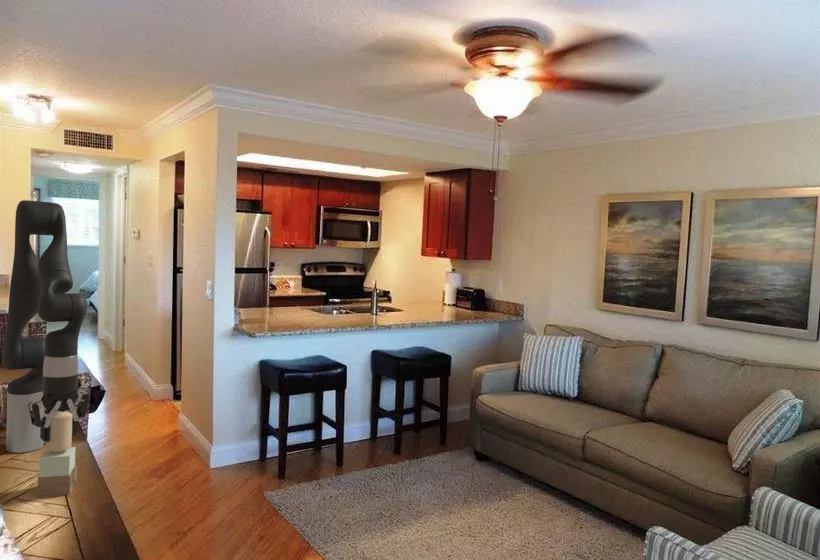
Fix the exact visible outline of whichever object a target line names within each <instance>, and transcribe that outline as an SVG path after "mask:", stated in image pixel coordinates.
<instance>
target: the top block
mask: <svg viewBox="0 0 820 560" xmlns="http://www.w3.org/2000/svg"><path fill="white" fill-rule="evenodd" d="M38 463H39V464H38V467H39V468H38V470H39V471H38V477H55V476H69V475H70V473H71V471H72V470H73V468H74V466H75V465H76V446H71V447H70V448H69V449H66V450H62V451H48V450H47V449H46V448H45V450H44V451H43V452H42V453H41V455H40V456H39V462H38Z"/></svg>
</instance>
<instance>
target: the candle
mask: <svg viewBox="0 0 820 560" xmlns="http://www.w3.org/2000/svg"><path fill="white" fill-rule="evenodd" d="M49 414H50V412H49ZM49 427H50V441H49V442H45V450H46V449H47V450H48V451H62V450H66V449H69V448H70V447H72V439H73V436H72V414H71V412H70V411H69V410H66V411H64V412H61V411H57V412H56V415H55V417H54V418H53V419H52V421H51V423H50V425H49Z"/></svg>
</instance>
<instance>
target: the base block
mask: <svg viewBox="0 0 820 560" xmlns="http://www.w3.org/2000/svg"><path fill="white" fill-rule="evenodd" d="M77 471H78V465H77V464H75V466H74V468H73V470H72V471H71V473H70V475H69V476H55V477H39V476H38V477H37V498H40V497H43V496H44V497H55V496H56V497H58V496H70V495H71V493H72V491H73V490H74V488H75V486H76V484H77V478H78V477H77V476H78V474H77Z"/></svg>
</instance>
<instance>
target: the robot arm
mask: <svg viewBox="0 0 820 560" xmlns="http://www.w3.org/2000/svg"><path fill="white" fill-rule="evenodd" d="M16 206H17V207H16V209H15V222H14V224H15V225H14V230H15V231H14V252H13V253H14V254H13V262H12V271H11V277H10V285H9V292H8V293H9V296H8V297H9V298H8V313H7V314H8V315H7V321H6V327H5V332H4V338H3V343H2V350H1V363H2V366H3V368H5V369H6V370H11V371H14V370H15V371H16V370H26V369H29V371H28V372H26V373H25V374H24V375H22V376H20V377H17V378H15V379H13V380H11V381H9V382H8V384H7V394H6V395H7V399H6V402H7V403H6V404H7V405H6V434H5V435H6V437H5V438H6V439H5V442H6V443H5V445H6V446H5V447H6V448H5V451H7V452H9V453H15V454H17V453H18V454H20V453H29V452H33V451H36V450H40V449H41V448H42V447H44V442H45V443H46V442H49V441H50V427H49V425H50V423H51V421H52V419H53V418H54V417H55V415H56V412H57V411H61V412H64V411H66V410H69V411H70V412H71V414H72V437H73V436H76V433H77V432H78V425H79V424H78V421H79V420H80V419H81V418H85V417H86V415H87V411H88V406H89V401H90V397H91V396H90V394H88V393H86V392H81V393H78V391H77V390H78V389H79V388H78V387H79V386H78V385H79V383H78V381H79V359H78V354H79V353H78V349H79V336H80V331H81V329H82V328H81V327H82V325H83V322H84V319H85V317H86V314H87V310H88V301H87V299H86V298H85V296H84V295H83V294H81V293H74V292H73V293H71V292H70V291H71V290H72V289H73V286H74V280H73V276H72V272H71V271H72V270H71V268H70V264H69V263H70V262H69V257H68V236H67V224H66V223H67V219H66V215H65V210H64V208H63V206H62V205H61V204H60V203H56V202H50V201H41V200H28V199H27V200H26V199H23V200H20V201H19V202H18V204H17V205H16ZM31 235H35V236H52V240H51V242H50V244H49V245H48V247H47V248H46V249H45V250H44V252H43V253H42V254H41V255H40V257H39V258H38V257H37V254H36V253H35V252H34V249H33V247H32V245H31V238H30V237H31ZM69 292H70V293H69ZM37 314H38V317H39V318H40V319H41V320H42V321H43V322H47V323H57V322H59V323H60V322H61V323H62V322H67V324H66V325H65V326H64V327H63V328H60V329H57V330H53V331H49V332H48V333H47V334H46V335H45V337H43V336H26V337H21V336H22V334H23V331H24V330H25V328H26V326H27V325H28V323H29V322H31V320H32V319H33V318H34V317H35V316H36V315H37ZM76 402H78V403H77V408H76V407H75V403H76ZM49 413H50V414H49Z"/></svg>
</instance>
